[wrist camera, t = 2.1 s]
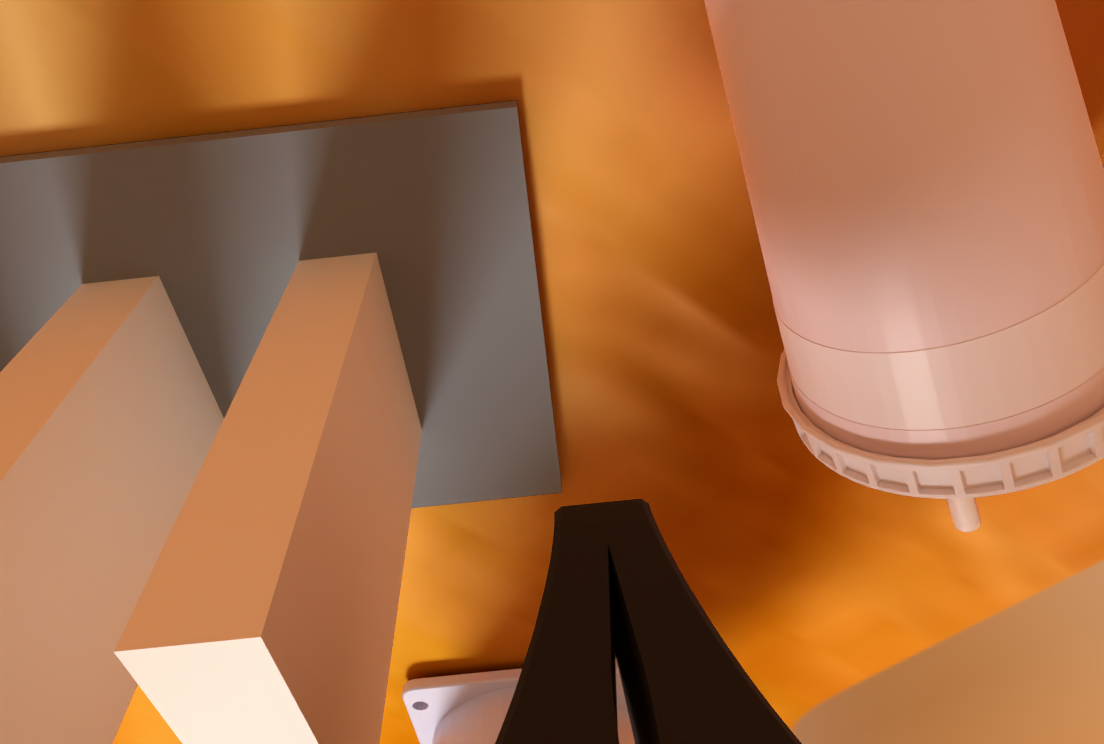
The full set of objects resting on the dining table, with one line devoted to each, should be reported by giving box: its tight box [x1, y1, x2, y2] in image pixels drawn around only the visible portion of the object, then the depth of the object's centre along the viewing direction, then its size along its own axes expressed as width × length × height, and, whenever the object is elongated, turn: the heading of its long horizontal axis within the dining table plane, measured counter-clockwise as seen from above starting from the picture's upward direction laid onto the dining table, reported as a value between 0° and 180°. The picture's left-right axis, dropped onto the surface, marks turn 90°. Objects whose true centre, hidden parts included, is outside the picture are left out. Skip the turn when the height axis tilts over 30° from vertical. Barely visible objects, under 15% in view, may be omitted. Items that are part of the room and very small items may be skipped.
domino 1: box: [0, 276, 224, 744], centre depth 13 cm, size 2×5×9 cm, turn 6°
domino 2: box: [114, 253, 422, 744], centre depth 13 cm, size 2×5×9 cm, turn 6°
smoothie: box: [704, 0, 1104, 532], centre depth 13 cm, size 6×6×14 cm
